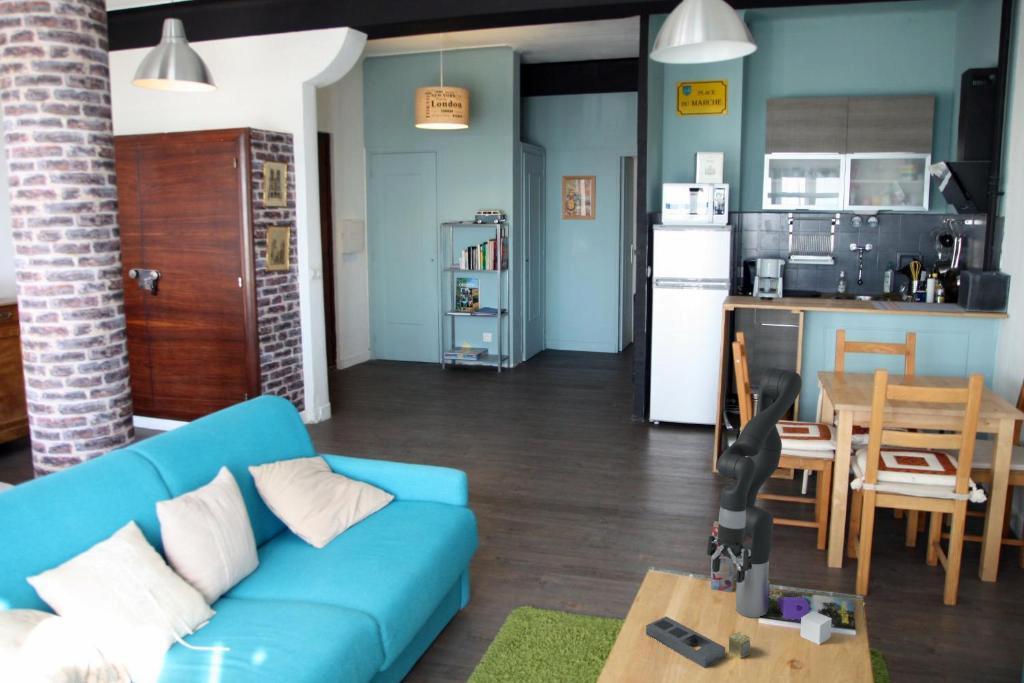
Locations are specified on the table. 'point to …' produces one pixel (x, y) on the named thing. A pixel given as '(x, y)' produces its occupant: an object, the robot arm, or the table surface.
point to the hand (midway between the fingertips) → (727, 576)
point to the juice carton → (722, 570)
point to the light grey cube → (815, 627)
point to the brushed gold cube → (739, 645)
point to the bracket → (793, 607)
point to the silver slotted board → (685, 641)
